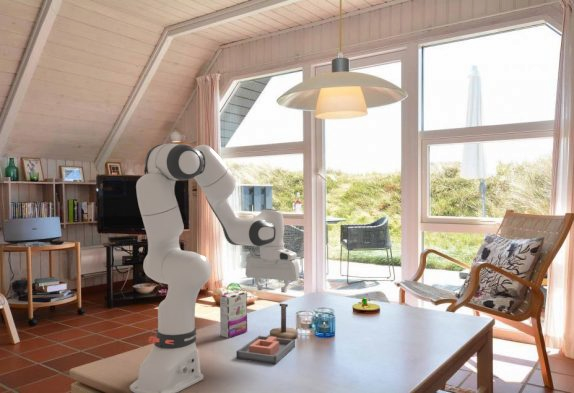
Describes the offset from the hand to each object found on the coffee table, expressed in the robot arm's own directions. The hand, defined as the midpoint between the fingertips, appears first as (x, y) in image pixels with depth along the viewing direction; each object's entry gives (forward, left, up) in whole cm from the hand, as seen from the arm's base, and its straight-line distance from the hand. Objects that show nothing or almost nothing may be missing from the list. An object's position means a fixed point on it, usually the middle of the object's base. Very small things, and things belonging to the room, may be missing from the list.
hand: (271, 291), depth 167 cm
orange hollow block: (-5, 0, -20) cm, 21 cm away
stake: (+14, +1, -21) cm, 25 cm away
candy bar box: (+10, +21, -21) cm, 31 cm away
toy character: (+66, -20, -22) cm, 72 cm away
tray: (-5, 0, -21) cm, 21 cm away
